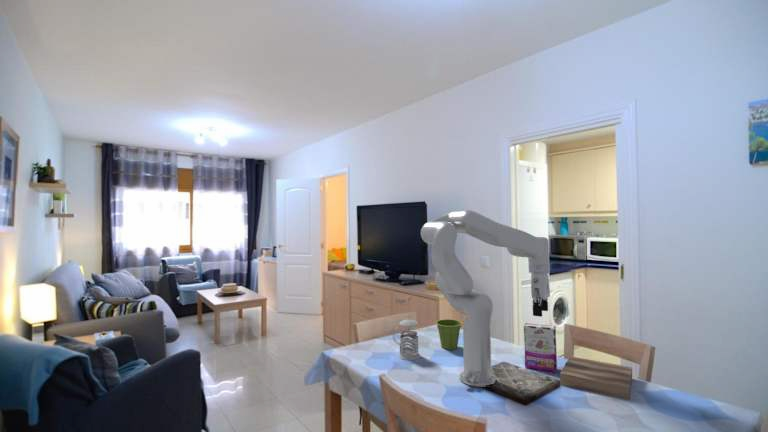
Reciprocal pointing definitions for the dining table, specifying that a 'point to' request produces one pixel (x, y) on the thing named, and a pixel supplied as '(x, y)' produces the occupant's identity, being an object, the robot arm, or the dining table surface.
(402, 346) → the french press
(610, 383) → the walnut stand
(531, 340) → the candy bar box
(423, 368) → the dining table surface
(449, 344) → the plant pot
